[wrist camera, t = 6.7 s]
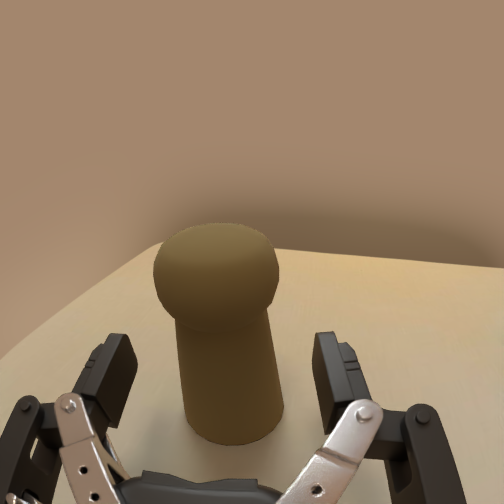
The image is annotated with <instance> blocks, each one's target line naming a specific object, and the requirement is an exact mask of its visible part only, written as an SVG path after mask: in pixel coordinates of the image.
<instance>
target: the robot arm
mask: <svg viewBox="0 0 504 504" xmlns="http://www.w3.org/2000/svg"><path fill="white" fill-rule="evenodd" d="M137 368H138V362H137V358H136V355H135V353H134V350H133V348H132V345H131V342H130V340H129V337H128V335H126V334H116V333H111V334H109V335H108V337H107V339H106V341H105V343H104V344H100V345H99V346H98V347H96V348H95V349H94V350H93V351H92V353H91V355H90V357H89V359H88V361H87V363H86V365H85V368H83V370H82V372H81V374H80V376H79V378H78V380H77V382H76V384H75V386H74V388H73V390H72V392H71V393H66V394H63V395H61V396H60V397H59V398H58V399H57V400H56V402H55V403H43V404H40V402H39V401H38V400H37V398H36V397H34V396H31V395H28V396H24V397H22V398H21V399H19V400H18V402H17V403H16V405H15V407H14V409H13V411H12V413H11V415H10V417H9V420H8V422H7V424H6V426H5V428H4V431H3V433H2V435H1V438H0V504H52V500H53V496H54V492H55V488H56V484H57V480H58V477H59V473H60V470H61V466H62V463H63V467H64V470H65V473H66V476H67V479H68V482H69V484H70V487H71V490H72V493H73V495H74V498H75V500H76V503H77V504H336V503H337V501H338V500H339V498H340V497H341V495H342V494H343V492H344V491H345V489H346V487H347V486H348V484H349V483H350V481H351V479H352V478H353V476H354V474H355V472H356V471H357V469H358V467H359V465H360V463H361V461H362V459H363V458H366V459H379V460H384V464H385V469H386V474H387V479H388V485H389V490H390V496H391V502H392V504H467V503H466V499H465V495H464V492H463V488H462V484H461V481H460V477H459V474H458V471H457V467H456V464H455V461H454V458H453V455H452V452H451V449H450V446H449V443H448V440H447V437H446V434H445V432H444V429H443V426H442V423H441V421H440V418H439V415H438V413H437V412H436V410H435V409H434V408H433V407H431V406H429V405H427V404H416V405H413V406H411V407H410V408H409V409H408V410H407V412H402V411H390V410H385V409H383V408H381V407H380V406H379V405H378V404H377V403H376V402H374V401H373V400H372V398H371V396H370V393H369V390H368V387H367V384H366V381H365V378H364V376H363V373H362V370H361V367H360V364H359V362H358V359H357V356H356V354H355V351H354V350H353V349H352V348H351V346H350V345H349V344H348V343H347V342H345V343H338V342H337V339H336V336H335V333H334V332H333V331H332V332H320V333H316V334H315V339H314V348H313V356H312V370H313V376H314V381H315V386H316V391H317V396H318V401H319V406H320V411H321V417H322V422H323V427H324V433H325V435H328V434H330V435H329V437H328V438H327V440H326V441H325V443H324V444H323V446H322V447H321V448H320V449H318V450H317V451H316V452H315V453H314V455H313V456H312V457H311V459H310V460H309V461H308V463H307V464H306V465H305V467H304V468H303V469H302V471H301V472H300V473H299V475H298V476H297V477H296V479H295V480H294V481H293V482H292V484H291V485H290V486H289V487H288V489H287V490H286V491H285V492H284V493H281V492H279V491H278V490H275V489H273V488H270V487H267V486H263V485H258V480H257V479H223V480H218V481H212V482H205V483H193V482H190V481H187V480H184V479H181V478H178V477H176V476H173V475H170V474H164V473H157V472H151V471H145V470H143V472H142V476H140V477H134V478H130V477H129V475H128V474H127V472H126V471H125V470H124V468H123V466H122V464H121V462H120V460H119V458H118V456H117V454H116V452H115V450H114V448H113V445H112V443H111V441H110V439H109V436H108V434H107V433H106V431H107V428H108V427H112V428H118V425H119V422H120V418H121V415H122V412H123V410H124V407H125V404H126V401H127V398H128V395H129V392H130V389H131V386H132V384H133V381H134V378H135V375H136V373H137ZM36 438H37V439H38V442H37V445H36V448H35V450H34V453H33V456H32V459H30V452H31V449H32V447H33V444H34V441H35V439H36Z"/></svg>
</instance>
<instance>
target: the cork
mask: <svg viewBox="0 0 504 504" xmlns="http://www.w3.org/2000/svg"><path fill="white" fill-rule="evenodd" d="M153 277H154V283H155V287H156V291H157V295H158V298H159V300H160V302H161V303H162V305H163V307H164V308H165V310H166V311H167V312H168V313H169V314H170V315H171V316H172V317H173V318H174V319H175V327H176V339H177V350H178V360H179V369H180V378H181V386H182V394H183V402H184V409H185V414H186V417H187V420H188V423H189V424H190V426H191V427H192V428H193V429H194V430H195V432H196V433H197V434H199V435H200V436H202V437H204V438H205V439H207V440H209V441H211V442H214V443H218V444H222V445H244V444H247V443H250V442H253V441H256V440H259V439H261V438H262V437H264V436H265V435H267V434H268V433H270V432H271V431H272V430H273V429H274V428H275V426H276V425H277V424H278V422H279V421H280V419H281V416H282V412H283V408H284V404H283V398H282V392H281V386H280V381H279V375H278V369H277V364H276V358H275V353H274V347H273V341H272V336H271V330H270V325H269V319H268V313H267V307H268V306H269V305H270V304H271V303H272V301H273V298H274V295H275V292H276V289H277V285H278V282H279V265H278V261H277V258H276V254H275V251H274V247H273V246H272V244H271V243H270V242H269V240H268V239H267V237H266V236H264V235H263V234H262V233H261V232H259V231H257V230H255V229H252V228H250V227H248V226H245V225H239V224H234V223H211V224H204V225H199V226H194V227H191V228H188V229H184V230H182V231H181V232H178V233H176V234H175V235H173V236H172V237H171V238H169V239H168V240H167V241H165V242H164V243H163V244H162V245H161V247H160V249H159V251H158V254H157V256H156V259H155V261H154V269H153Z"/></svg>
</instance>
